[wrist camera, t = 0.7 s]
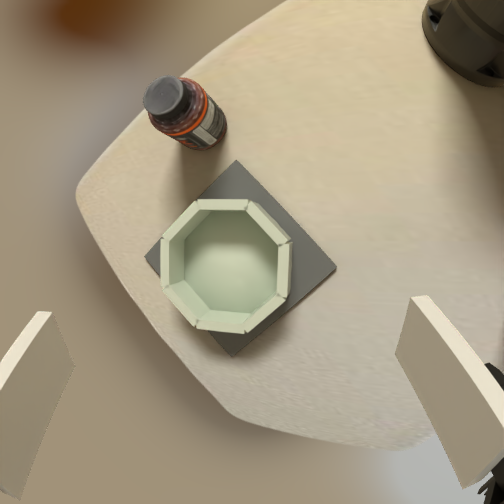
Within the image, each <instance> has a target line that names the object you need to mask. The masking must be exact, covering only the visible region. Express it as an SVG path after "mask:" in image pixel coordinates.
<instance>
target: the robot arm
mask: <svg viewBox="0 0 504 504" xmlns="http://www.w3.org/2000/svg"><path fill="white" fill-rule="evenodd" d="M422 25H423V29H424V32H425V35H426V37H427V39H428V41H429V43H430V44H431V46H432V47H433V49H434V50H435V51H436V53H437V54H438V55H439V56H440V57H441V59H442V60H443V61H444V62H445V63H446V64H448V65H449V66H450V67H451V68H452V69H453V70H455V71H456V72H457V73H459V74H460V75H462V76H463V77H465V78H467V79H468V80H470V81H472V82H475V83H477V84H480V85H483V86H488V87H498V86H502V85H504V0H428V2H427V4H426V6H425V8H424V11H423V14H422ZM395 355H396V357H397V359H398V361H399V363H400V364H401V366H402V368H403V370H404V372H405V373H406V375H407V377H408V379H409V381H410V383H411V384H412V386H413V388H414V390H415V392H416V394H417V396H418V398H419V399H420V401H421V403H422V405H423V407H424V409H425V411H426V413H427V415H428V417H429V419H430V421H431V423H432V425H433V427H434V429H435V431H436V433H437V435H438V437H439V439H440V441H441V443H442V445H443V447H444V449H445V451H446V454H447V455H448V458H449V460H450V462H451V464H452V466H453V469H454V471H455V473H456V475H457V477H458V480H459V482H460V484H461V486H462V489H464V488H466V487H469V486H470V485H473V484H475V483H477V482H479V481H480V480H482V479H483V478H484V477H485V476H486V475H487V474H488V473H489V472H490V471H491V472H492V474H493V477H492V478H490V479H489V480H488V481H487V482H486V483H485V484H484V485H483V486H482V487H481V488H480V489H479V491H478V494H481V493H482V492H483V491H484V490H485V489H487V488H488V489H487V491H486V493H485V494H484V495H486V497H485V501H484V504H504V375H503V374H502V372H501V371H500V370H499V369H497V368H496V367H494V366H493V365H492V364H490V363H486V364H483V362H482V361H481V360H480V358H479V357H478V356H477V354H476V353H475V352H474V351H473V349H472V348H471V347H470V346H469V344H468V343H467V342H466V341H465V339H464V338H463V337H462V336H461V334H460V333H459V332H458V331H457V329H456V328H455V327H454V326H453V325H452V323H451V322H450V321H449V320H448V319H447V317H446V316H445V315H444V314H443V313H442V312H441V310H440V309H439V308H438V307H437V306H436V305H435V303H434V302H433V301H432V300H431V299H430V298H429V297H428V295H425V296H417V297H411V298H410V302H409V306H408V310H407V314H406V317H405V321H404V325H403V328H402V332H401V335H400V339H399V342H398V345H397V349H396V352H395ZM74 368H75V365H74V362H73V360H72V358H71V355H70V353H69V351H68V349H67V346H66V344H65V342H64V339H63V337H62V335H61V332H60V330H59V327H58V325H57V322H56V320H55V317H54V315H53V312H39V311H38V312H37V313H36V314H35V315H34V317H33V318H32V319H31V321H30V322H29V323H28V325H27V326H26V327H25V329H24V330H23V331H22V333H21V334H20V335H19V337H18V338H17V339H16V341H15V342H14V344H13V345H12V346H11V348H10V349H9V351H8V352H7V353H6V355H5V356H4V358H3V359H2V361H1V362H0V490H1V491H2V492H4V493H5V494H8V495H10V496H12V497H14V498H17V499H19V500H20V499H21V496H22V493H23V490H24V487H25V484H26V481H27V478H28V476H29V473H30V470H31V467H32V465H33V462H34V459H35V457H36V454H37V451H38V449H39V446H40V444H41V441H42V439H43V437H44V434H45V432H46V429H47V427H48V425H49V422H50V420H51V418H52V415H53V413H54V411H55V409H56V406H57V404H58V402H59V399H60V398H61V395H62V393H63V391H64V389H65V387H66V385H67V383H68V380H69V378H70V376H71V374H72V372H73V370H74Z"/></svg>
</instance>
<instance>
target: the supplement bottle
mask: <svg viewBox="0 0 504 504" xmlns="http://www.w3.org/2000/svg"><path fill="white" fill-rule="evenodd" d="M143 103H144V107H145V109H146V110H147V111H148V115H149V119H150V121H151V123H152V125H153V126H154V127H155V128H156V129H157V130H159V131H161V132H162V133H164V134H166V135H167V136H169V137H171V138H173V139H175V140H177V141H178V142H180V143H182V144H184V145H185V146H187V147H189V148H192V149H196V150H204V149H209V148H211V147H213V146H214V145H216V144H217V143H218V142H219V141H220V140H221V139H222V137H223V136H224V134H225V131H226V125H227V122H226V118H225V115H224V113H223V111H222V110H221V109H220V108H219V106H218V105H217V104H216V103H215V102H214V101H213V99H212V98H211V97H210V96H209V95H208V94H207V93H206V92H205V91H204V89H203V88H202V87H201V86H200V85H199V84H198V83H196V82H195V81H193V80H191V79H188V78H176V77H175V76H170V75H166V76H162V77H159V78H157V79H156V80H154V81H153V82H152V83H151V84H150V85H149V86H148V88H147V89H146V91H145V94H144V98H143Z"/></svg>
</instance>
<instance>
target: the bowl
mask: <svg viewBox="0 0 504 504" xmlns="http://www.w3.org/2000/svg"><path fill="white" fill-rule="evenodd" d="M162 237H163V238H164V239H161V246H160V270H161V287H164V289H163V290H162V291H163V292H164V293H165V295H166V296H167V297H168V298H169V299H170V301H171V302H172V303H173V304H174V305H175V306H176V308H177V309H178V310H179V311H180V312H181V313H182V314H183V316H184V317H185V318H186V319H187V320H188V321H189V322H190V324H191V325H192V326H193V327H194V326H195V325H196V328H197V329H204V330H212V331H221V332H230V333H240V334H245V332H247V333H248V332H249V331H250V330H252V329H253V328H254V327H255V326H256V325H258V324H259V323H260V322H261V321H262V320H264V319H265V318H266V317H267V316H268V315H269V314H271V313H272V312H273V311H274V310H275V309H276V308H278V307H279V306H280V305H281V304H282V303H283V302H284V301H285V300H286V298H287V296H288V294H289V292H290V289H291V271H292V245H293V242H289V240H290V239H291V238H290V237H289V235H288V234H287V233H286V232H285V231H284V230H283V229H282V228H281V227H280V225H279V224H278V223H277V222H276V221H275V220H274V219H273V218H272V217H271V216H270V215H269V214H268V213H267V212H266V211H265V210H264V209H263V208H262V207H261V205H260V204H258V203H256V202H253V201H251V200H248V199H198V201H194V202H193V203H192V204H191V205H190V206H189V207H188V208H187V209H186V210H185V211H184V212H183V213H182V214H181V215H180V217H179V218H178V219H177V220H176V221H175V222H174V223H173V224H172V225H171V226H170V227H169V228H168V230H167V231H166V232H165V233H164V234H163V235H162Z"/></svg>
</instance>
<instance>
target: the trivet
mask: <svg viewBox="0 0 504 504" xmlns="http://www.w3.org/2000/svg"><path fill="white" fill-rule="evenodd" d="M198 199H248V200H251V201H253V202H256V203H258V204H260V205H261V207H262V208H263V209H264V210H265V211H266V212H267V213H268V214H269V215H270V216H271V217H272V218H273V219H274V220H275V221H276V222H277V223H278V224H279V225H280V227H281V228H282V229H283V230H284V231H285V232H286V233H287V234H288V235H289V237H290V238H291V239H290V240H289V242H293V245H292V271H291V289H290V292H289V294H288V296H287V298H286V300H285V301H284V302H283V303H282V304H281V305H280V306H279V307H278V308H276V309H275V310H274V311H273V312H272V313H271V314H269V315H268V316H267V317H266V318H265V319H264V320H262V321H261V322H260V323H259V324H258V325H256V326H255V327H254V328H253V329H252V330H250V331H249V332H248V333H247V332H245V334H240V333H230V332H221V331H212V330H207V331H208V332H209V333H210V334H211V335H212V336H213V337H214V338H215V339H216V341H217V342H218V343H219V344H220V345H221V346H222V347H223V348H224V349H225V350H226V351H227V352H228V353H229V354H230V356H231V357H232V356H233V355H234V354H236V353H237V352H238V351H239V350H241V349H242V348H243V347H244V346H246V345H247V344H248V343H249V342H251V341H252V340H253V339H254V338H255V337H257V336H258V335H259V334H260V333H262V332H263V331H264V330H265V329H266V328H268V327H269V326H270V325H271V324H272V323H274V322H275V321H276V320H277V319H278V318H279V317H281V316H282V315H283V314H284V313H285V312H287V311H288V310H289V309H290V308H291V307H292V306H294V305H295V304H296V303H297V302H298V301H299V300H300V299H302V298H303V297H304V296H305V295H306V294H307V293H308V292H310V291H311V290H312V289H313V288H314V287H315V286H316V285H318V284H319V283H320V282H321V281H322V280H323V279H324V278H325V277H327V276H328V275H329V274H330V273H331V272H332V271H333V270H334V269H335V268H336V267H337V266H336V265H335V264H334V263H333V262H332V261H331V259H330V258H329V257H328V256H327V255H326V254H325V253H324V252H323V251H322V249H321V248H320V247H319V246H318V245H317V244H316V243H315V242H314V241H313V240H312V238H311V237H310V236H309V235H308V234H307V233H306V232H305V231H304V230H303V229H302V228H301V227H300V225H299V224H298V223H297V222H296V221H295V220H294V219H293V218H292V217H291V216H290V215H289V214H288V213H287V212H286V210H285V209H284V208H283V207H282V206H281V205H280V204H279V203H278V202H277V201H276V200H275V199H274V198H273V197H272V196H271V195H270V194H269V193H268V192H267V190H266V189H265V188H264V187H263V186H262V185H261V184H260V183H259V182H258V181H257V180H256V179H255V178H254V177H253V176H252V175H251V174H250V173H249V172H248V171H247V170H246V169H245V168H244V167H243V166H242V165H241V164H240V163H239V162H238V161H237V160H236V161H234V162H233V163H232V164H231V165H230V166H229V167H228V168H227V169H226V170H225V171H224V172H223V173H222V174H221V175H220V176H219V177H218V178H217V179H216V180H215V181H214V182H213V183H212V184H211V185H210V186H209V188H208V189H207V190H206V191H205V192H204V193H203V194H202V195H201V196H200V197H199V198H198ZM198 199H197V200H196V201H198ZM161 239H164V238H163V237H161V238H160V239H159V241H158V242H157V243H156V244H155V245H154V246H153V247H152V248H151V249H150V251H149V252H148V253H147V254H146V255H145V256H144V257H145V258H146V260H147V261H148V262H149V263H150V264H151V266H152V267H153V268H154V269H155V271H156V272H157V273H158V274H159V275H160V277H161V270H160V246H161Z"/></svg>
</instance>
